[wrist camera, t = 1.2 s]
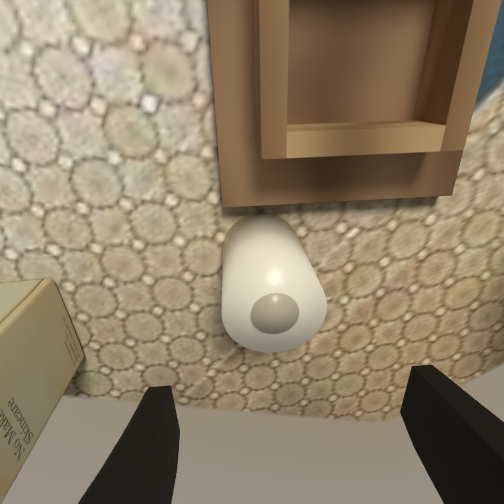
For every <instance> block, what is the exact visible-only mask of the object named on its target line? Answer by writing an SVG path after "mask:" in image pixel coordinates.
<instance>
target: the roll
mask: <svg viewBox="0 0 504 504" xmlns="http://www.w3.org/2000/svg"><path fill="white" fill-rule="evenodd" d="M326 312H327V301H326V296H325V293H324V291H323V289H322V287H321V285H320V283H319V281H318V279H317V276H316V274H315V272H314V270H313V268H312V266H311V264H310V262H309V260H308V258H307V255H306V253H305V251H304V249H303V247H302V245H301V243H300V241H299V239H298V237H297V234H296V232H295V231H294V229H293V228H292V226H291V225H290V224H289V223H288V222H287V221H285V220H284V219H282V218H281V217H278V216H276V215H273V214H267V213H258V214H252V215H249V216H246V217H244V218H242V219H240V220H239V221H237V222H236V223H235V224H234V225H233V226H232V227H231V228H230V229H229V231H228V232H227V234H226V236H225V239H224V242H223V269H222V321H223V324H224V327H225V329H226V331H227V333H228V334H229V335H230V337H231V338H232V339H233V340H234V341H236V342H237V343H238V344H240V345H241V346H243V347H245V348H247V349H250V350H253V351H257V352H264V353H276V352H283V351H287V350H290V349H293V348H296V347H298V346H300V345H302V344H303V343H305V342H306V341H308V340H309V339H310V338H312V337H313V336H314V335H315V334H316V332H317V331H318V330H319V329H320V327H321V326H322V324H323V322H324V319H325V316H326Z"/></svg>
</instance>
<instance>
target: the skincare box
mask: <svg viewBox="0 0 504 504" xmlns="http://www.w3.org/2000/svg"><path fill="white" fill-rule="evenodd" d="M83 358H84V354H83V351H82V349H81V346H80V343H79V341H78V338H77V336H76V333H75V331H74V328H73V325H72V323H71V320H70V318H69V316H68V313H67V310H66V308H65V306H64V303H63V301H62V299H61V296H60V294H59V291H58V289H57V287H56V284H55V282H54V280H53V279H42V280H30V281H20V282H9V283H0V504H1V503H2V501H3V500H4V498H5V496H6V494H7V492H8V490H9V489H10V487H11V485H12V484H13V482H14V480H15V478H16V477H17V475H18V473H19V471H20V470H21V468H22V466H23V464H24V462H25V461H26V459H27V457H28V456H29V454H30V452H31V450H32V448H33V447H34V445H35V443H36V441H37V440H38V438H39V436H40V434H41V432H42V431H43V429H44V427H45V425H46V424H47V422H48V420H49V418H50V416H51V415H52V413H53V411H54V409H55V408H56V406H57V404H58V402H59V401H60V399H61V397H62V395H63V393H64V392H65V390H66V388H67V386H68V384H69V383H70V381H71V379H72V377H73V376H74V374H75V372H76V370H77V369H78V367H79V365H80V363H81V362H82V360H83Z"/></svg>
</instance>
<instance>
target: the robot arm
mask: <svg viewBox="0 0 504 504" xmlns="http://www.w3.org/2000/svg"><path fill="white" fill-rule="evenodd" d="M400 413H401V416H402V418H403V421H404V423H405V426H406V429H407V431H408V434H409V436H410V438H411V441H412V443H413V446H414V448H415V450H416V452H417V454H418V456H419V458H420V459H421V461H422V463H423V465H424V467H425V469H426V471H427V473H428V475H429V477H430V478H431V480H432V482H433V484H434V486H435V488H436V489H437V491H438V493H439V495H440V497H441V499H442V501H443V503H444V504H504V422H503V421H501V420H500V419H499V418H498V417H496V416H495V415H494V414H493V413H491V412H490V411H489V410H488V409H486V408H485V407H484V406H482V405H481V404H480V403H479V402H478V401H476V400H475V399H474V398H473V397H471V396H470V395H469V394H468V393H466V392H465V391H464V390H462V389H461V388H460V387H459V386H458V385H457V384H455V383H454V382H453V381H452V380H450V379H449V378H448V377H447V376H445V375H444V374H443V373H442V372H440V371H439V370H438V369H437V368H435V367H434V366H433V365H421V366H412V368H411V372H410V376H409V380H408V383H407V387H406V391H405V395H404V399H403V403H402V407H401V410H400ZM179 437H180V429H179V424H178V419H177V415H176V409H175V404H174V399H173V394H172V389H171V386H158V387H149V388H148V389H147V390H146V392H145V394H144V396H143V398H142V400H141V402H140V404H139V405H138V408H137V409H136V411H135V413H134V415H133V417H132V418H131V420H130V422H129V423H128V425H127V427H126V429H125V430H124V432H123V434H122V436H121V437H120V439H119V441H118V442H117V444H116V445H115V447H114V449H113V450H112V452H111V454H110V455H109V457H108V458H107V460H106V462H105V464H104V465H103V467H102V468H101V470H100V471H99V473H98V474H97V476H96V477H95V479H94V480H93V482H92V483H91V485H90V486H89V488H88V489H87V491H86V492H85V494H84V495H83V497H82V498H81V500H80V501H79V503H78V504H171V501H172V496H173V490H174V484H175V478H176V473H177V463H178V452H179Z"/></svg>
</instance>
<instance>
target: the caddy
mask: <svg viewBox="0 0 504 504" xmlns="http://www.w3.org/2000/svg"><path fill="white" fill-rule="evenodd" d="M500 4H501V0H207V7H208V21H209V34H210V47H211V61H212V74H213V88H214V101H215V114H216V128H217V141H218V154H219V168H220V181H221V194H222V208H224V207H243V206H262V205H281V204H299V203H318V202H337V201H356V200H375V199H394V198H413V197H432V196H451V195H452V193H453V189H454V185H455V181H456V177H457V173H458V169H459V165H460V161H461V157H462V153H463V150H464V146H465V142H466V138H467V134H468V130H469V126H470V122H471V118H472V114H473V110H474V106H475V102H476V99H477V95H478V91H479V87H480V83H481V79H482V75H483V71H484V67H485V63H486V59H487V55H488V51H489V47H490V43H491V39H492V36H493V32H494V28H495V24H496V20H497V16H498V12H499V8H500Z"/></svg>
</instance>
